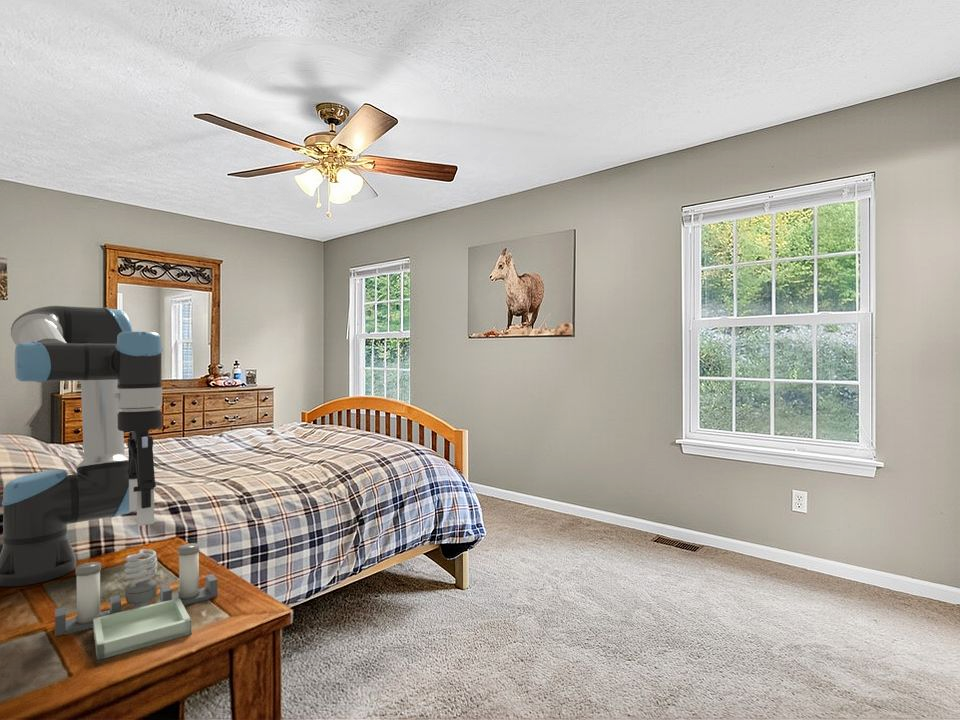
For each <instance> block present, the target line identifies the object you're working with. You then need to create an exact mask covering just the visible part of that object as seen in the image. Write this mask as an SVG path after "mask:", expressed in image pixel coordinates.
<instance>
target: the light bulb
mask: <svg viewBox="0 0 960 720" xmlns="http://www.w3.org/2000/svg"><path fill="white" fill-rule="evenodd" d="M124 560H125V563H124V570H123V572H124V573H125V575H124V577H125V579H129V580H130V579H131V580H132V579H134V580H132V582H130V583H128V584H127V585H126V587H125V590H124V594H125V601H126V603H127V604H131V605H133V609H135V608H139V607H144V606H148V605H150V603H149V602H150V601H152V600H153V599H155V597H156V596H157V587H158V582H157V581H156V579H152V578H153V577H154V576H155V575H156V574H157V572H158V569H157V568H158V557H157V552H156V551H155V550H153V549H148V548H147V549H145V548H143V549H139V550H138V553H134V554H130V555H127V556H126V557H125V558H124Z"/></svg>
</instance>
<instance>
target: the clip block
mask: <svg viewBox="0 0 960 720" xmlns="http://www.w3.org/2000/svg"><path fill="white" fill-rule="evenodd" d="M199 588H200V587H199ZM216 597H218V578H217V577H216V576H215V574H213V573H211V574H210V573H209V574H206V575H205V586H204V587H201V588H200V594H199V595H198V596H197V597H195V598H192V599H186V600H182V599H180V600H181V602H182V604H183V605H184V606H187V605H191V604H194V603H200V602H203V601H208V600H211V598H216ZM177 598H178V593H176V594H172V587H170V584H169V583H166V584H161V585H159V603H160V602H164V601H168V600H173V599H177ZM119 612H122V600H121V596H120V594H117V595H112V596H110V597H109V609H107V610H102V611H101V617H102V616H106V615H110V614H114V613H119ZM54 621H55V622H54V636H55V637H58V636H57V635H59V636H61V635H60V634H63V635H66V634H67V635H70V634H69V633H71V634H74V633H73V632H75V633H78V632H77V631H79V632H81V631H80V630H83V631H85V630H84V629H87V630H89V629H88V628H91V629H93V628H92V627H93V623H89V624H84V625H79V624H76V617H74V618H70V619H66V607H65V606H63V607H59V608H55V609H54ZM65 633H66V634H65Z"/></svg>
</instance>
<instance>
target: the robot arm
mask: <svg viewBox="0 0 960 720" xmlns="http://www.w3.org/2000/svg"><path fill="white" fill-rule="evenodd" d="M11 324H12V325H11V327H10V336H11V339H12V341H13V343H14V344H15V345H16V346H15V348H14V372H15V378H16V379H17V381H20V382H35V383H45V382H72V381H80V390H81V391H80V392H81V394H80V395H81V417H82V420H81V421H82V422H81V423H82V441H83V443H82V444H83V447H82V448H83V449H82V450H83V459H82V460H81V461H80V462H79V463H78V464H77V465H76V473H74V474H68V471H67V470H66V469H64V468H63V469H61V468H60V469H52V470H51V469H49V470H44V471H39V472H34V473H30V474H26V475H22V476H19V477H16V478H14V479H12V480H10V481H8V482H6V484H5V485H4V487H3V493H2V494H3V495H2V501H1V506H2V507H3V508H2V509H3V515H2V517H3V518H2V524H3V526H2V528H3V531H2V538H3V539H2V541H3V542H2V544H3V545H2V548H1V552H0V587H22V586H28V585H35V584H38V583H44V582H47V581H48V582H49V581H50V580H54V579H57V578H60V577H62V576H65V575H67V574H69V573H71V572H73V571H74V570H76V567H77V555H76V554H75V551H74V548H73V547H72V544H71V541H70V540H69V536H68V525H70V524H75V523H82V522H88V521H94V520H99V519H106V518H115V517H117V516H122V515H127V514H130V513H132V512H136V526H137V527H141V526H148V525H153V524H155V490H154V489H155V487H156V486H157V483H156V476H155V465H154V461H155V460H154V451H153V448H154V438H153V436H152V435H150V434H149V433H150V431H152V430H153V431H154V430H158V429H161V428H162V426H163V411H162V410H161V409H160V408H161V407H162V406H163V387H162V352H163V348H162V339H161V335H160V334H159V333H158V332H154V331H133V327H132V323H131V321H130V317H129V316H128V314H127V313H126V312H125V311H123V310H121V309H115V308H107V307H85V306H83V307H82V306H63V305H49V306H48V305H47V306H42V307H37V308H34V309H31V310H29V311H26V312H24V313H22V314H20V315H19V316H18V317H17V318H16V319H15V320H14V321H13V323H11ZM124 432H128V436H129V438H128V439H127V448H128V453H127V454H128V456H127V455H126V454H125V437H124V436H125V435H124Z"/></svg>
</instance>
